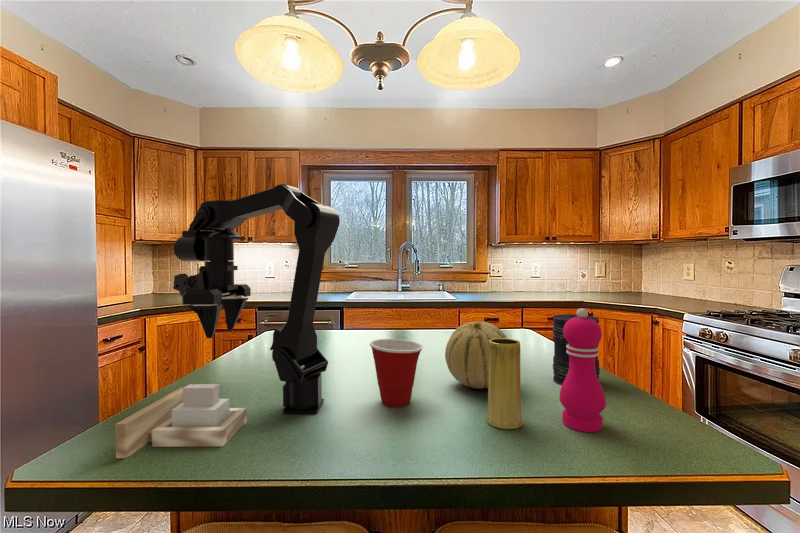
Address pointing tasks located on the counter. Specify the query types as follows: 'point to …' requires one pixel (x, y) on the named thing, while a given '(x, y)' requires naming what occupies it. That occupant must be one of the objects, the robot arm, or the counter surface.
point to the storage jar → (564, 349)
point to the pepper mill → (582, 375)
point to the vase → (504, 384)
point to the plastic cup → (395, 369)
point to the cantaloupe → (471, 353)
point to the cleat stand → (171, 428)
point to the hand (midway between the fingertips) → (220, 333)
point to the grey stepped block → (201, 407)
